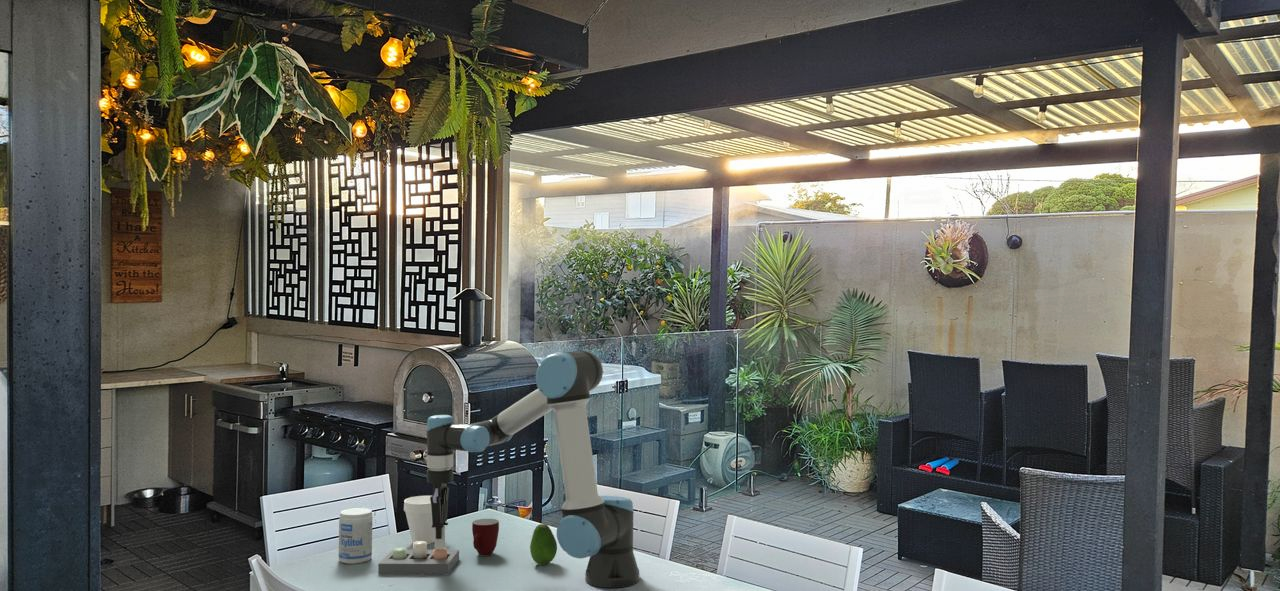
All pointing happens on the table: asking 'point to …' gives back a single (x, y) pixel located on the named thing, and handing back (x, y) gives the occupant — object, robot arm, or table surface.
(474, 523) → the mug
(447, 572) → the button panel
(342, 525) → the supplement tub
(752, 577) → the table surface
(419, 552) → the button cream
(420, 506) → the cup
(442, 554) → the button terracotta
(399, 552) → the button sage
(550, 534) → the fruit
